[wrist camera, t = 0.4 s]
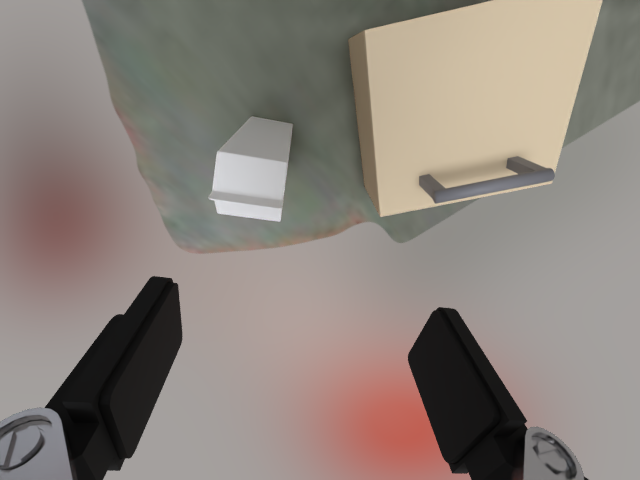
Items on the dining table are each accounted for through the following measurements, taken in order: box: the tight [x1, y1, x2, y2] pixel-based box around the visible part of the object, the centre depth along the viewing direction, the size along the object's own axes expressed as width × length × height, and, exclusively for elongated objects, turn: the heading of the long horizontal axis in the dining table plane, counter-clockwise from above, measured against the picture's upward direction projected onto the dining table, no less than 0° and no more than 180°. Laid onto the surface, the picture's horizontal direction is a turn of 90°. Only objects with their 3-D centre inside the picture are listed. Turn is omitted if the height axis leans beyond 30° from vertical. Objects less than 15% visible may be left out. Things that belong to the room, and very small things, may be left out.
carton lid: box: [363, 0, 603, 217], centre depth 28 cm, size 20×22×6 cm
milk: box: [208, 116, 293, 222], centre depth 32 cm, size 6×6×22 cm
